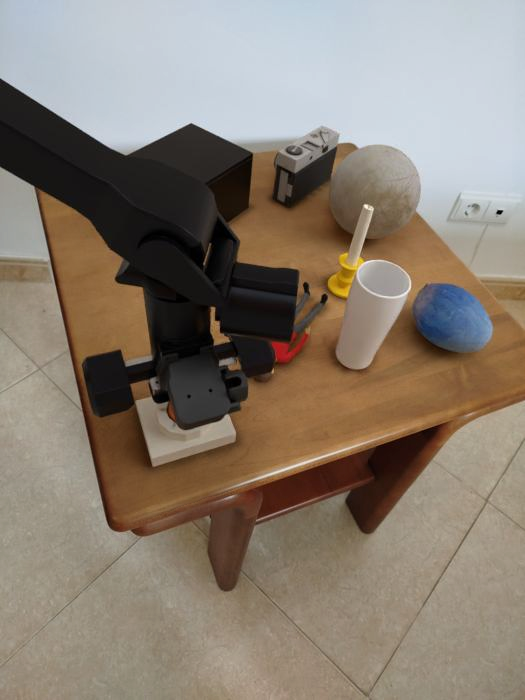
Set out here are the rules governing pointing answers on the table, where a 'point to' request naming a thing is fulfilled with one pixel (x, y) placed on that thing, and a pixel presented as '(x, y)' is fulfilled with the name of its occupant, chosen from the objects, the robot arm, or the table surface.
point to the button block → (178, 433)
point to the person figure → (295, 332)
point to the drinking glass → (371, 311)
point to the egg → (451, 318)
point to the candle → (351, 256)
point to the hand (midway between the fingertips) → (184, 407)
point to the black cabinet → (207, 165)
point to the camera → (304, 165)
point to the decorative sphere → (375, 189)
